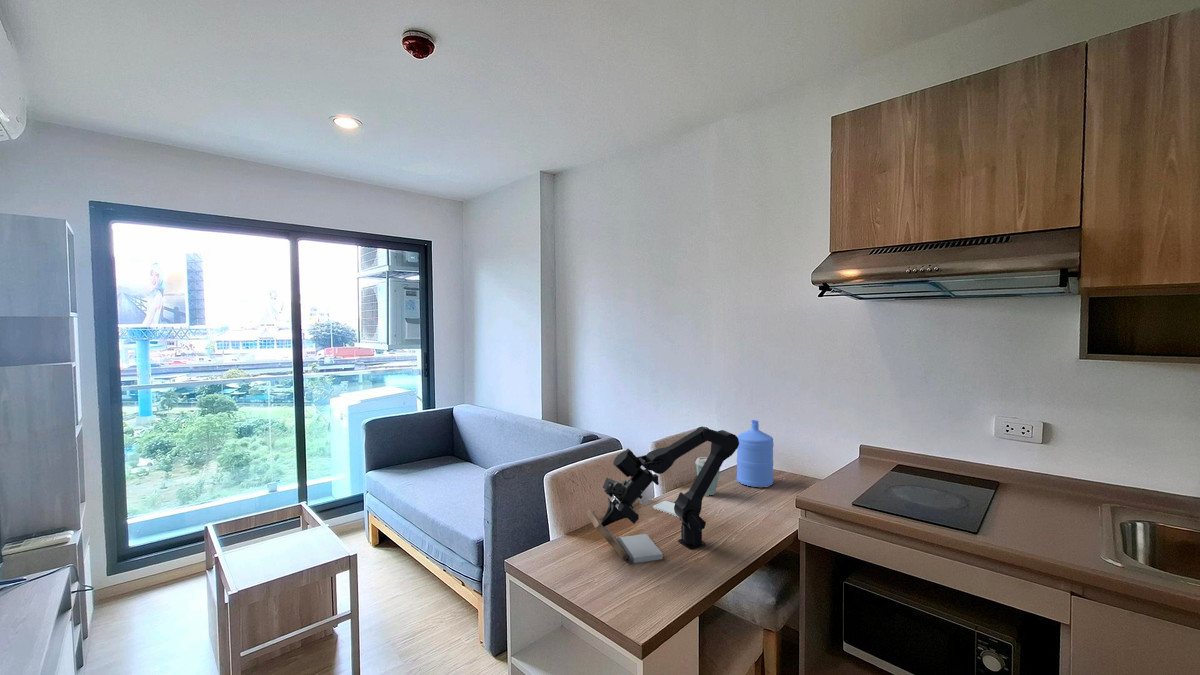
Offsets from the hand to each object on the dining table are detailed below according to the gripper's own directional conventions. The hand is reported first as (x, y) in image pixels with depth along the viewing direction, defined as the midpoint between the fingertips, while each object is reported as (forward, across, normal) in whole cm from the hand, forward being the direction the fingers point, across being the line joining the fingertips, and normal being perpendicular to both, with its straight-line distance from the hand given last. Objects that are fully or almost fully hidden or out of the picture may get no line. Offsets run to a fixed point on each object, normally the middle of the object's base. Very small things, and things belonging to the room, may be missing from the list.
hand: (602, 525), depth 142 cm
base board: (-2, 0, +15) cm, 15 cm away
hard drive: (-17, -27, +32) cm, 46 cm away
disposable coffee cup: (-33, -39, +47) cm, 70 cm away
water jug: (-52, -46, +67) cm, 96 cm away
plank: (+2, 0, +3) cm, 3 cm away
